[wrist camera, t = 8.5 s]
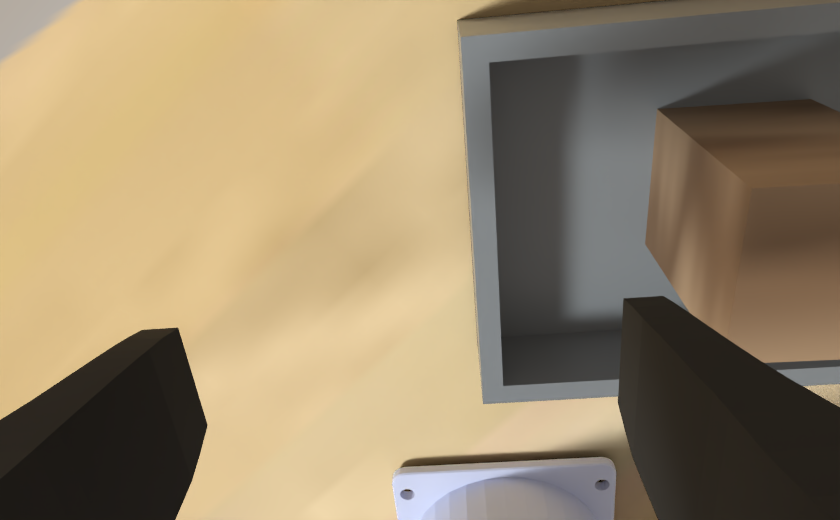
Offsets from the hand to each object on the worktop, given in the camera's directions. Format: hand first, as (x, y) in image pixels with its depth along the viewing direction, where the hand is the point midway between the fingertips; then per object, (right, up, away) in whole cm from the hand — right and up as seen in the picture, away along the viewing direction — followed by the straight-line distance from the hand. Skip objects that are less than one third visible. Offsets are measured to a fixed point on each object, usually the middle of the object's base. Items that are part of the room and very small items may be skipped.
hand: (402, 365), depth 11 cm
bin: (+8, +4, +8) cm, 12 cm away
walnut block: (+9, +4, +8) cm, 12 cm away
